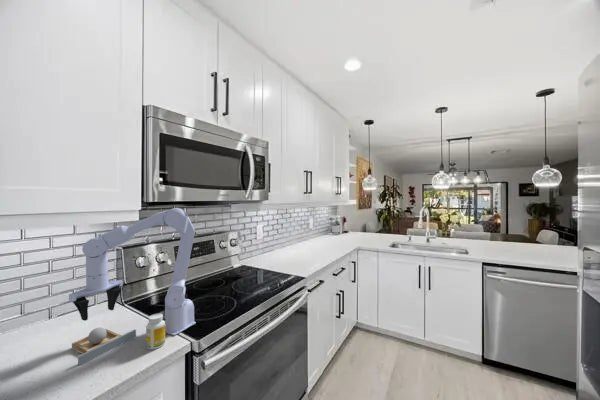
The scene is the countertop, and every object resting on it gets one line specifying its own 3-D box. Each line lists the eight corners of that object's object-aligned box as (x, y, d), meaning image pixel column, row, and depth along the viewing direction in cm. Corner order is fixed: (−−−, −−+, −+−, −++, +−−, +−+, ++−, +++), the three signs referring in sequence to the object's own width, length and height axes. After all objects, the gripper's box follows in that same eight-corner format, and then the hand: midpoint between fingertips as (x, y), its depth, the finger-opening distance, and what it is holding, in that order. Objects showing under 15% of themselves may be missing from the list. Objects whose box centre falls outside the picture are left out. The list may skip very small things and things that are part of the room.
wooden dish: (105, 333, 90) (105, 328, 90) (121, 339, 85) (121, 335, 85) (71, 348, 81) (71, 343, 81) (87, 356, 77) (87, 351, 77)
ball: (101, 337, 86) (101, 323, 86) (109, 341, 84) (109, 326, 84) (84, 344, 82) (84, 330, 82) (93, 348, 80) (93, 333, 80)
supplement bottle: (143, 350, 80) (142, 320, 79) (151, 340, 85) (150, 312, 85) (161, 349, 80) (160, 319, 80) (168, 339, 86) (167, 311, 85)
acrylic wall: (134, 336, 88) (134, 329, 87) (136, 336, 87) (135, 329, 87) (78, 364, 73) (77, 356, 73) (79, 365, 73) (79, 356, 73)
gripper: (114, 266, 92) (114, 303, 92) (63, 278, 79) (64, 321, 79) (126, 269, 89) (126, 307, 89) (75, 282, 76) (76, 326, 76)
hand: (98, 314), depth 84 cm, fingers open, 7 cm apart
